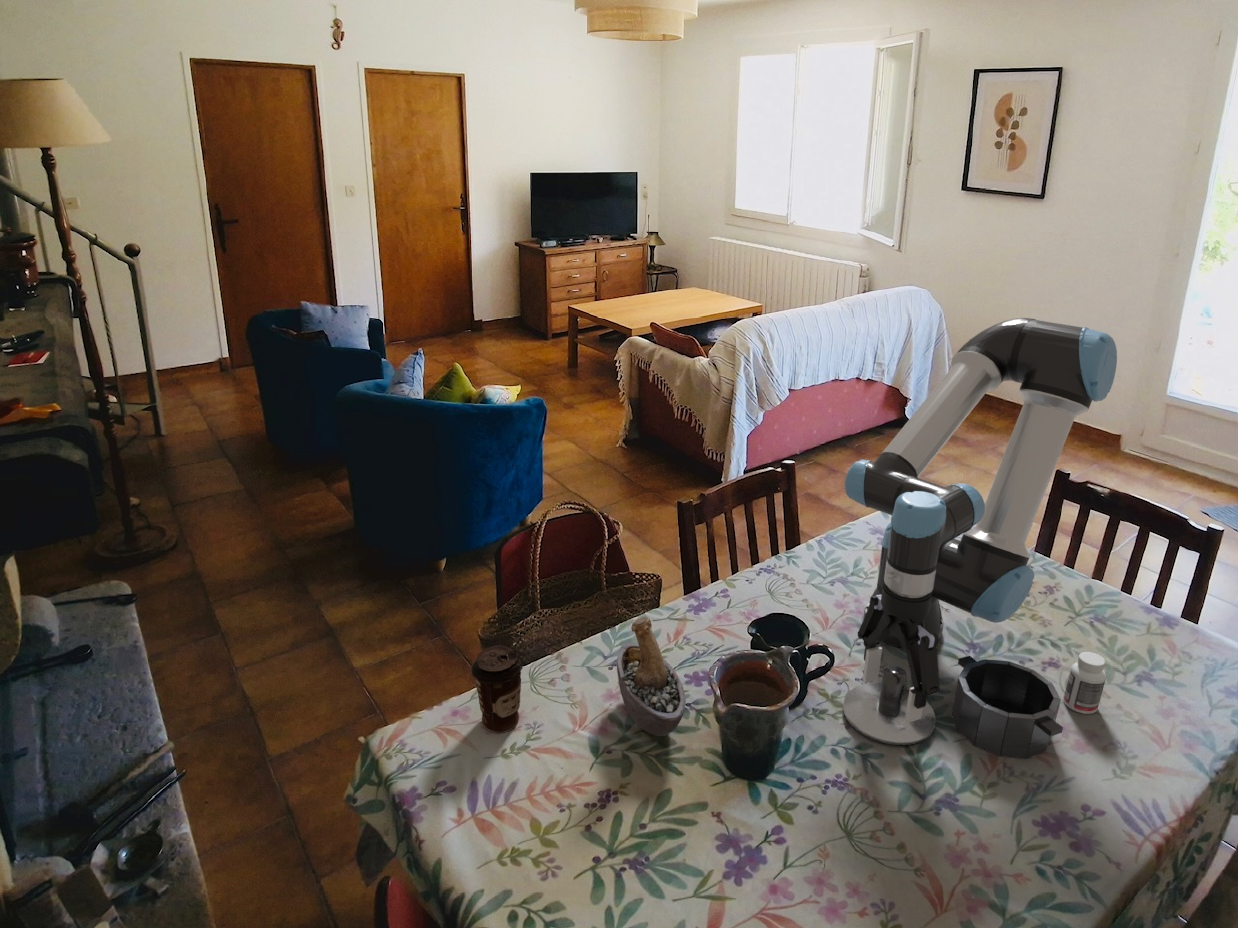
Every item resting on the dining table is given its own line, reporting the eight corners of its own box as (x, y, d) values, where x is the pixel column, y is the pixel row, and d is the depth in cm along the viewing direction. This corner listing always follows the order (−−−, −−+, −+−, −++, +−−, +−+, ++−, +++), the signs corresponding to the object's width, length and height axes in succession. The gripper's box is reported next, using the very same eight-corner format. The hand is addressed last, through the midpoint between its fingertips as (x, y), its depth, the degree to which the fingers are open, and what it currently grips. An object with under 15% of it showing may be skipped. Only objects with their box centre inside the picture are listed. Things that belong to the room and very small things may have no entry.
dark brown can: (536, 713, 146) (532, 650, 141) (511, 743, 139) (506, 679, 134) (493, 699, 149) (488, 638, 144) (466, 728, 142) (460, 665, 137)
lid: (825, 702, 148) (830, 657, 144) (895, 681, 153) (901, 637, 149) (879, 758, 135) (887, 711, 131) (953, 734, 140) (962, 687, 137)
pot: (924, 701, 148) (930, 663, 145) (990, 680, 153) (997, 644, 150) (1011, 779, 131) (1021, 738, 128) (1083, 753, 136) (1093, 713, 133)
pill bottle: (1103, 707, 146) (1116, 661, 142) (1086, 719, 143) (1099, 672, 140) (1073, 690, 150) (1085, 645, 146) (1056, 701, 148) (1067, 655, 144)
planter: (628, 679, 154) (627, 585, 146) (711, 709, 146) (716, 611, 138) (585, 727, 142) (582, 627, 134) (673, 762, 135) (676, 659, 127)
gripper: (844, 557, 142) (832, 665, 151) (939, 630, 123) (918, 749, 132) (881, 549, 145) (866, 655, 154) (979, 619, 125) (956, 736, 134)
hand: (890, 698), depth 143 cm, fingers open, 10 cm apart
